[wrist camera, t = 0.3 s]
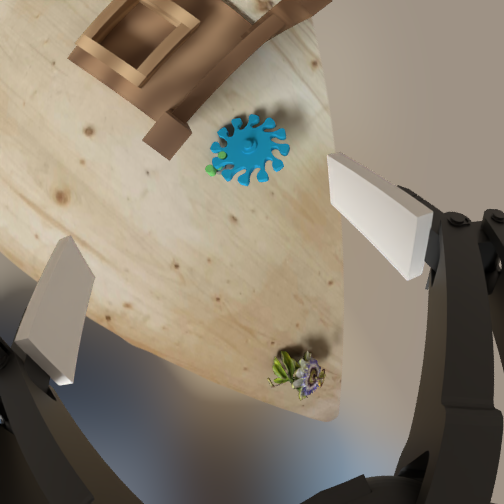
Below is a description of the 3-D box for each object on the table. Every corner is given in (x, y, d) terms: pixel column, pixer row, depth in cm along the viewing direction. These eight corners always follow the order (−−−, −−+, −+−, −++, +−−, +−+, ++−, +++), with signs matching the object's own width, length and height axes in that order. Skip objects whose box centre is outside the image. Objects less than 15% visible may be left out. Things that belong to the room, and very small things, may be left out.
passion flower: (299, 338, 68) (333, 372, 64) (267, 369, 68) (300, 403, 63) (291, 337, 58) (332, 378, 53) (254, 373, 58) (293, 413, 53)
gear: (269, 101, 35) (302, 160, 33) (275, 124, 41) (304, 180, 38) (191, 135, 36) (215, 199, 34) (206, 154, 42) (228, 212, 40)
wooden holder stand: (69, 59, 26) (-4, 38, 10) (162, -36, 22) (160, -113, 6) (173, 133, 36) (169, 160, 20) (264, 38, 32) (332, 0, 16)
